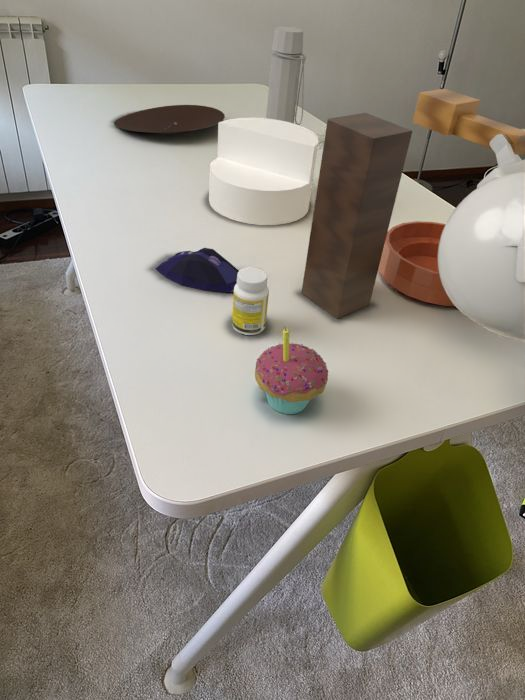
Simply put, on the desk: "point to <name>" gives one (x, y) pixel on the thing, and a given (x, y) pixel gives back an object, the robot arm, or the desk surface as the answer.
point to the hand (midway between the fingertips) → (505, 135)
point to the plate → (171, 119)
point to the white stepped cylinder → (262, 171)
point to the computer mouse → (200, 270)
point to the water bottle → (285, 74)
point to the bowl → (414, 261)
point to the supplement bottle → (250, 301)
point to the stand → (353, 210)
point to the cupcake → (290, 375)
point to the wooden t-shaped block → (462, 119)
